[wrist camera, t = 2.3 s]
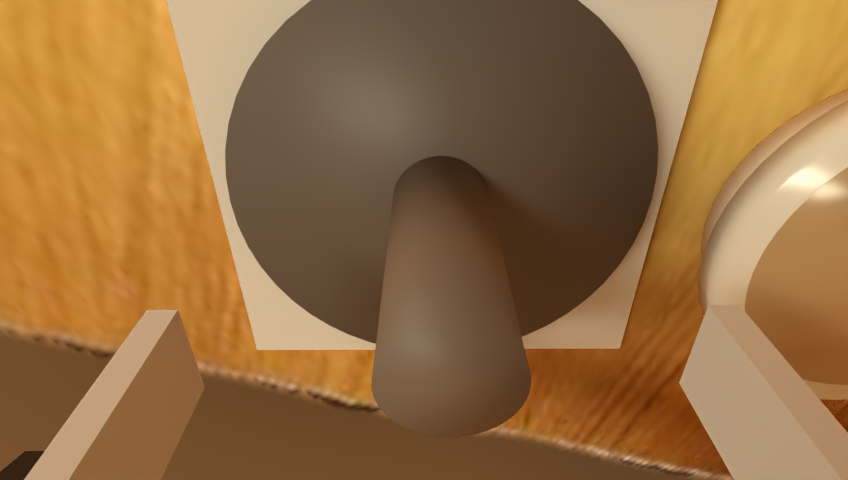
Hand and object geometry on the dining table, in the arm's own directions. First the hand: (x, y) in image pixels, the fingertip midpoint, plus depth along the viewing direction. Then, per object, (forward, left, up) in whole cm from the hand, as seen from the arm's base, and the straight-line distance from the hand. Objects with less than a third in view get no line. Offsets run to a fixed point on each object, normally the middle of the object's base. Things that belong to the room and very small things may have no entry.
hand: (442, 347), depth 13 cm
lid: (0, 0, -9) cm, 9 cm away
